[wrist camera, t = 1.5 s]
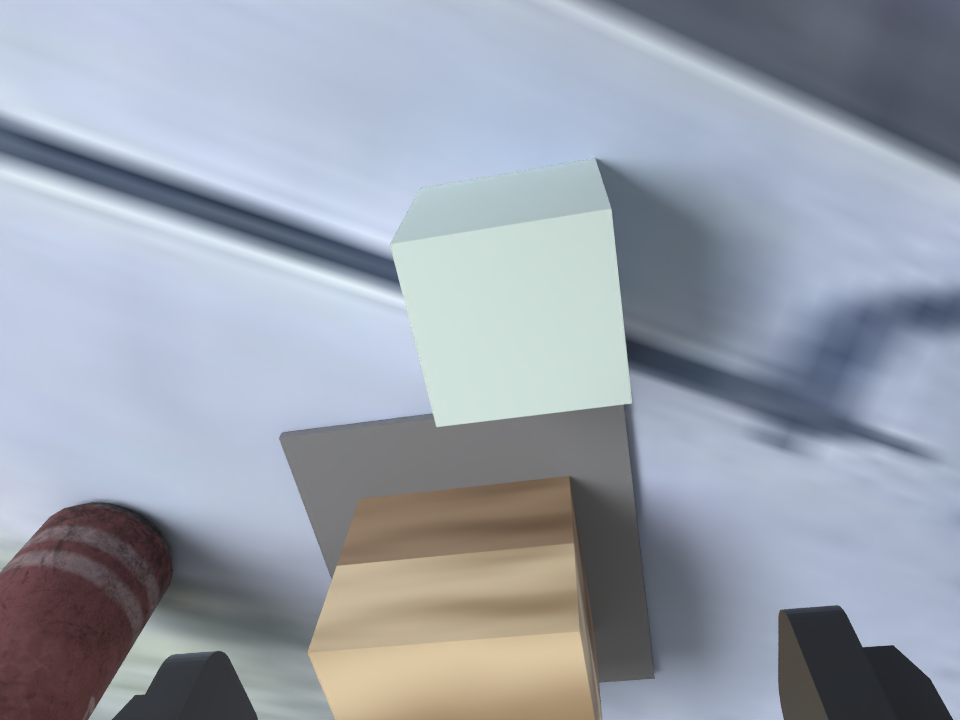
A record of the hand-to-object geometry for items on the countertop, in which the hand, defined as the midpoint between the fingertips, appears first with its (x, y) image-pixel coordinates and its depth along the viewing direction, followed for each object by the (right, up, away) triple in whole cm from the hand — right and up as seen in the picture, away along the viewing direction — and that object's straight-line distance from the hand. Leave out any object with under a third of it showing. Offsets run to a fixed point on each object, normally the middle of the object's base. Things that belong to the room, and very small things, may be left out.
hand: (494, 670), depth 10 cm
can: (-17, -4, +24) cm, 30 cm away
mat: (0, -5, +22) cm, 23 cm away
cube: (+1, +8, +16) cm, 18 cm away
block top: (0, -7, +18) cm, 19 cm away
